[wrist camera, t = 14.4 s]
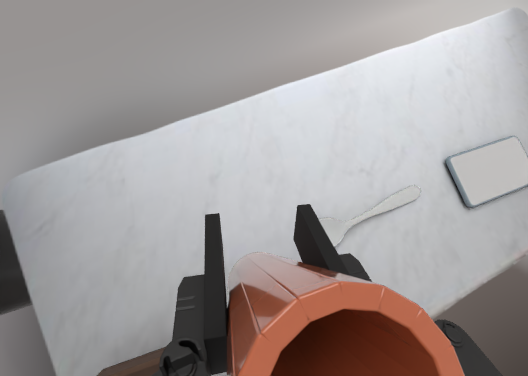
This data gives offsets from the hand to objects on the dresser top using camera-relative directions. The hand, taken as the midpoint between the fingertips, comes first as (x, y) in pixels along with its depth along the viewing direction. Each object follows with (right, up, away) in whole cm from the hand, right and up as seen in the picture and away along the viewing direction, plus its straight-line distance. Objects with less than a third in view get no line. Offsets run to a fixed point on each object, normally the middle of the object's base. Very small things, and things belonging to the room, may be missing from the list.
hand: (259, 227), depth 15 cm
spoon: (+14, -2, +21) cm, 25 cm away
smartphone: (+36, +5, +25) cm, 45 cm away
